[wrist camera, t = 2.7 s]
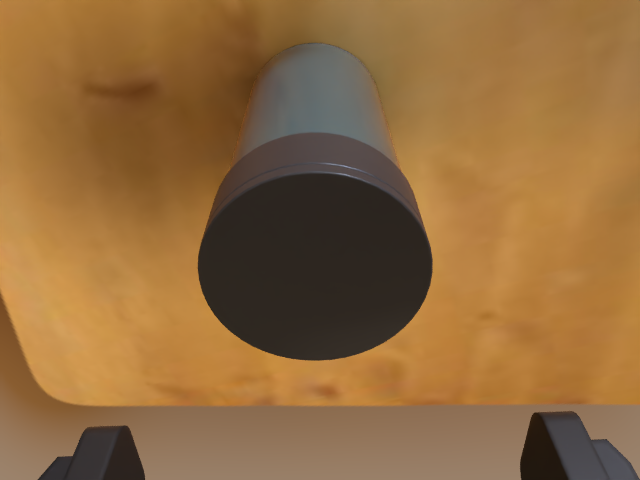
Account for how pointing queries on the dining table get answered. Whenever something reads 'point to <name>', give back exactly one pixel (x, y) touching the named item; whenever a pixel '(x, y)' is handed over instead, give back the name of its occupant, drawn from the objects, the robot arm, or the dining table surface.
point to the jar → (314, 100)
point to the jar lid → (315, 248)
